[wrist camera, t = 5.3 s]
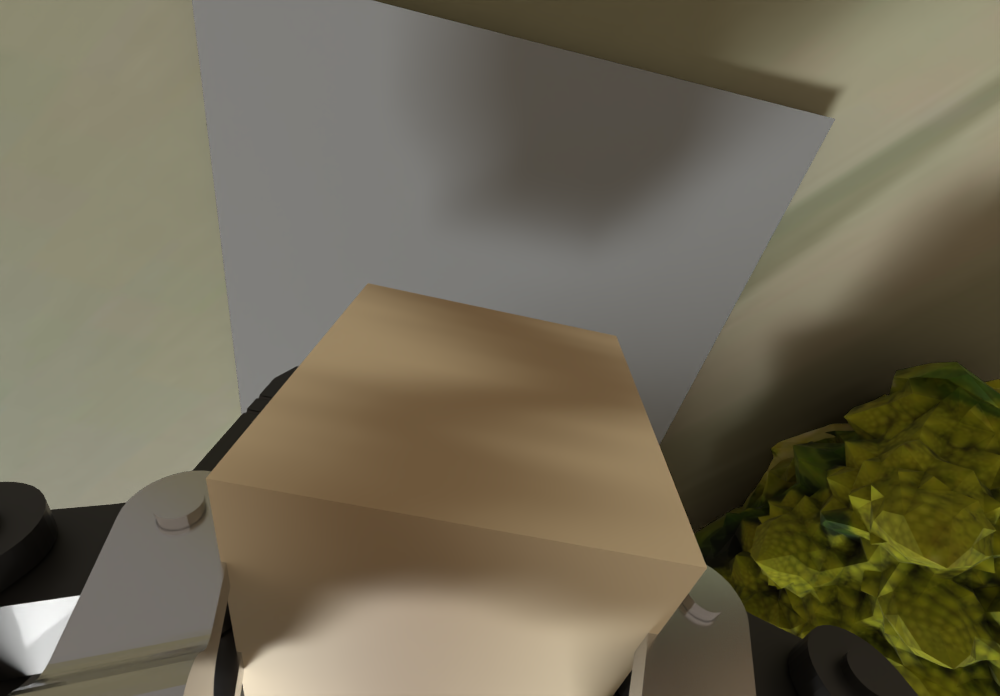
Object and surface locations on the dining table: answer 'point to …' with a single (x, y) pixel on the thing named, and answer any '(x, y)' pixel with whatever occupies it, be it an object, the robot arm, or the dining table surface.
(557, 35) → the dining table surface
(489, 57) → the mat
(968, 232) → the dining table surface
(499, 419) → the cube
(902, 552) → the vegetable
